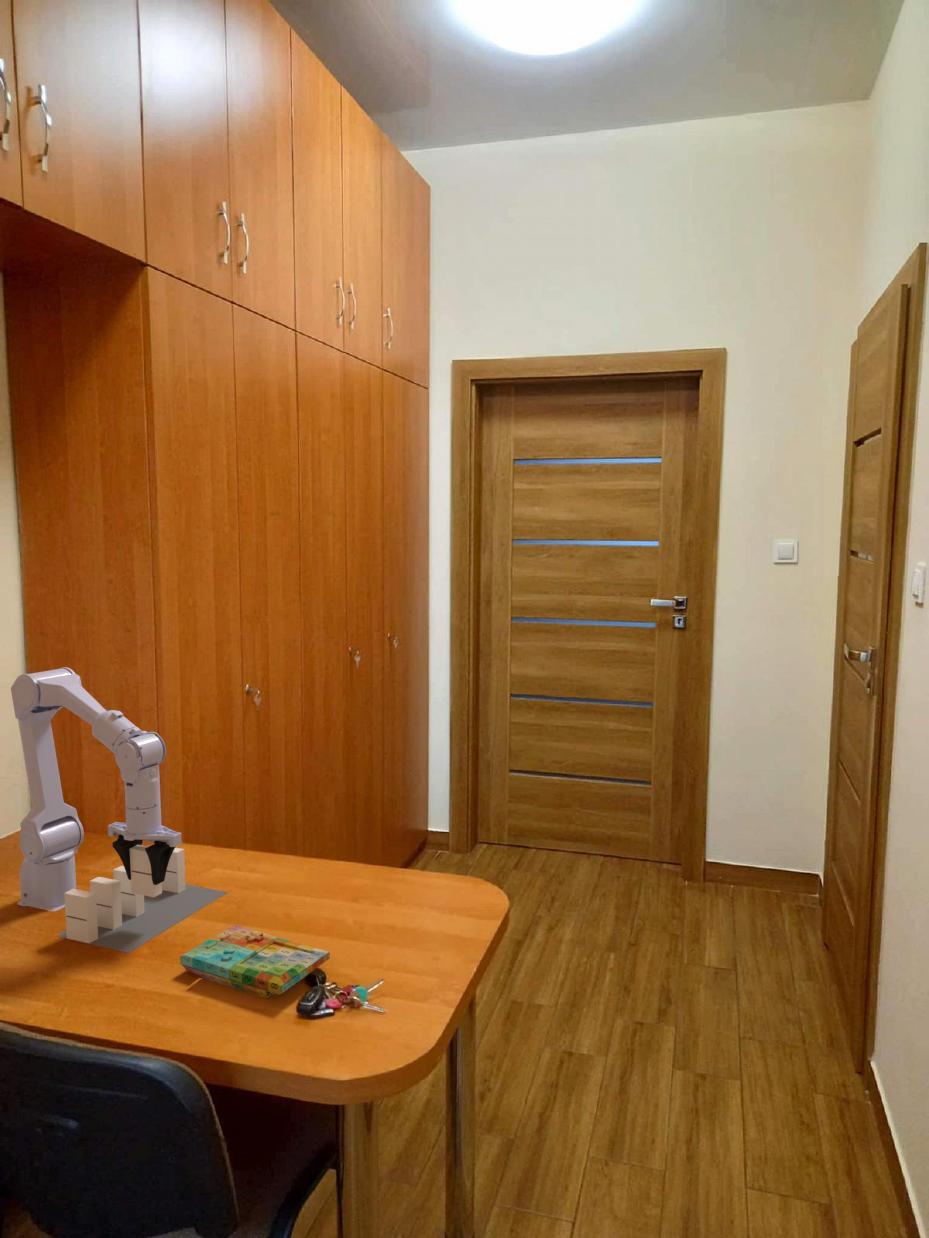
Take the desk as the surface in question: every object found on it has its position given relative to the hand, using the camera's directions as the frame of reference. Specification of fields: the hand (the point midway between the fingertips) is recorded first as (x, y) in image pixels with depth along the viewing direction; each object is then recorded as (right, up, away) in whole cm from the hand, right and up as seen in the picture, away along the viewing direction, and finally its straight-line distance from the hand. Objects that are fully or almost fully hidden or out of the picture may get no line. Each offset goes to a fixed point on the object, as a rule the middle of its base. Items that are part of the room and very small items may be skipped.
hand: (146, 880), depth 154 cm
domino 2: (-7, -8, +1) cm, 11 cm away
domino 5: (-1, -7, +16) cm, 18 cm away
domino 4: (0, -2, 0) cm, 2 cm away
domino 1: (-10, -9, -4) cm, 13 cm away
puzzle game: (+23, -11, -15) cm, 29 cm away
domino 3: (-5, -8, +6) cm, 11 cm away
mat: (-2, -8, +6) cm, 11 cm away
